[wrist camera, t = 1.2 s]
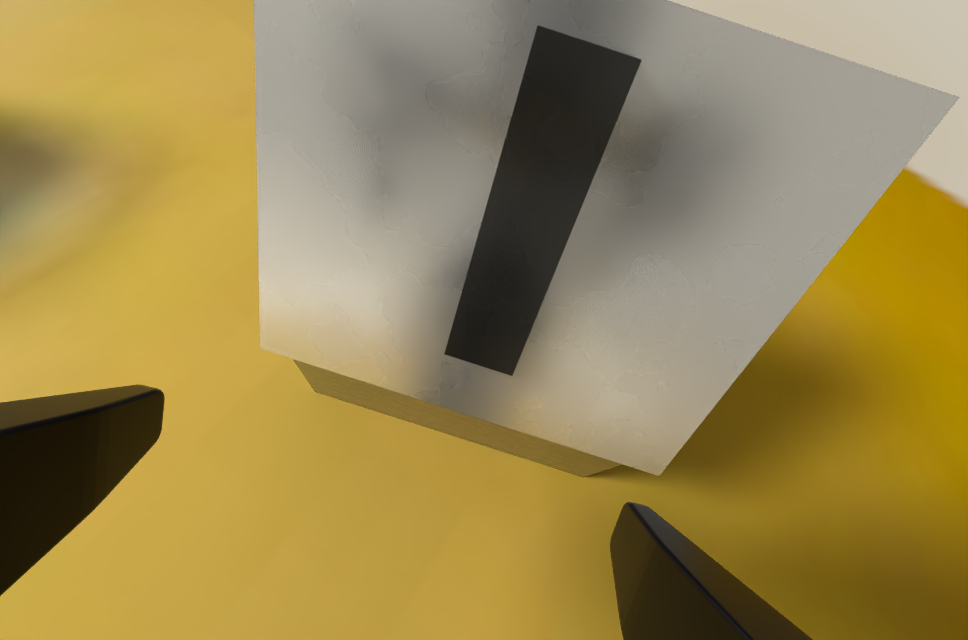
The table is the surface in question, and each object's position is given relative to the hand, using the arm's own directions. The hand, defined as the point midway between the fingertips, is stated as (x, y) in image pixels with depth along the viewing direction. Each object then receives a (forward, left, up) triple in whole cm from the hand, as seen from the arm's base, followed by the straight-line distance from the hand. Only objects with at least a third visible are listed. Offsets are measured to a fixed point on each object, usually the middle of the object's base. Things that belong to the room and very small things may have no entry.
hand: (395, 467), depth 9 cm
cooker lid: (+4, -5, -1) cm, 7 cm away
